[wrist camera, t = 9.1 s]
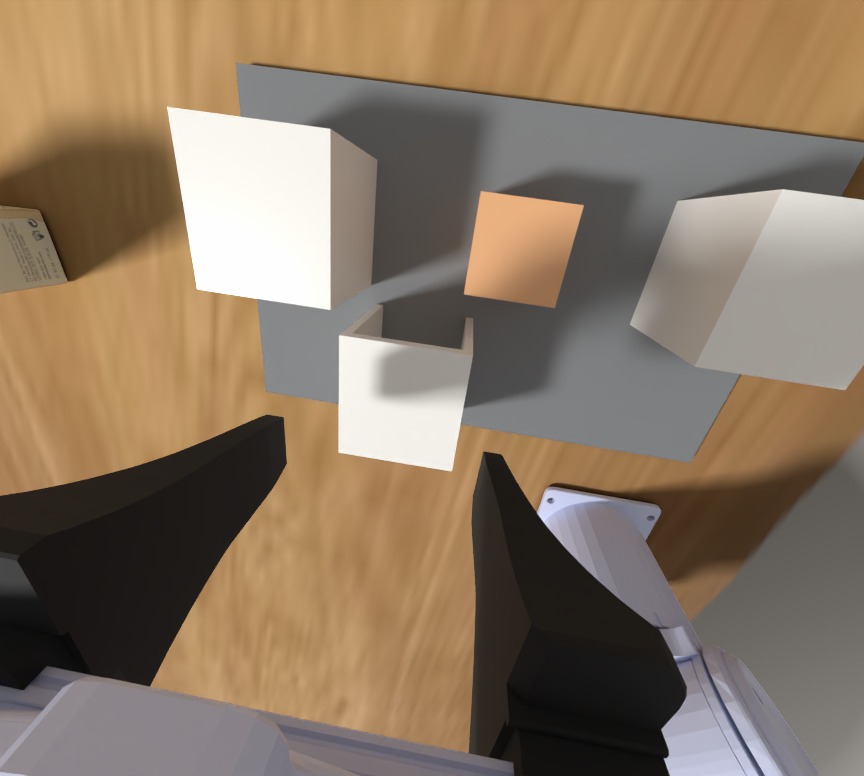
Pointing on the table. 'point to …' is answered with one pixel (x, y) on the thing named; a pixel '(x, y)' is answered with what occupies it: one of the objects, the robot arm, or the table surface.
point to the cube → (521, 248)
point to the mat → (586, 269)
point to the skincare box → (26, 251)
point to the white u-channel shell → (401, 395)
